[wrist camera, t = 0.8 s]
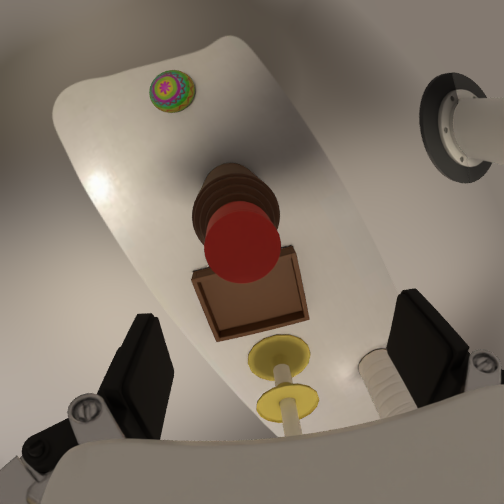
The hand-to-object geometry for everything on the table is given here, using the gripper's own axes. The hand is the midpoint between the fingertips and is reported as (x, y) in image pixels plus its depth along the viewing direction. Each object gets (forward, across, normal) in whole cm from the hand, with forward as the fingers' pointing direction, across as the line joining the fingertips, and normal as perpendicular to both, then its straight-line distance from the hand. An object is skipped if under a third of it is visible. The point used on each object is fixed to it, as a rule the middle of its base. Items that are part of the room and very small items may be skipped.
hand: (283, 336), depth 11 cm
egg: (+26, +8, -13) cm, 31 cm away
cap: (+8, +2, -2) cm, 8 cm away
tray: (+26, +1, +13) cm, 29 cm away
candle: (+26, -2, +26) cm, 37 cm away
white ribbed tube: (+26, -18, +31) cm, 45 cm away
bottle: (+26, +3, -1) cm, 26 cm away
